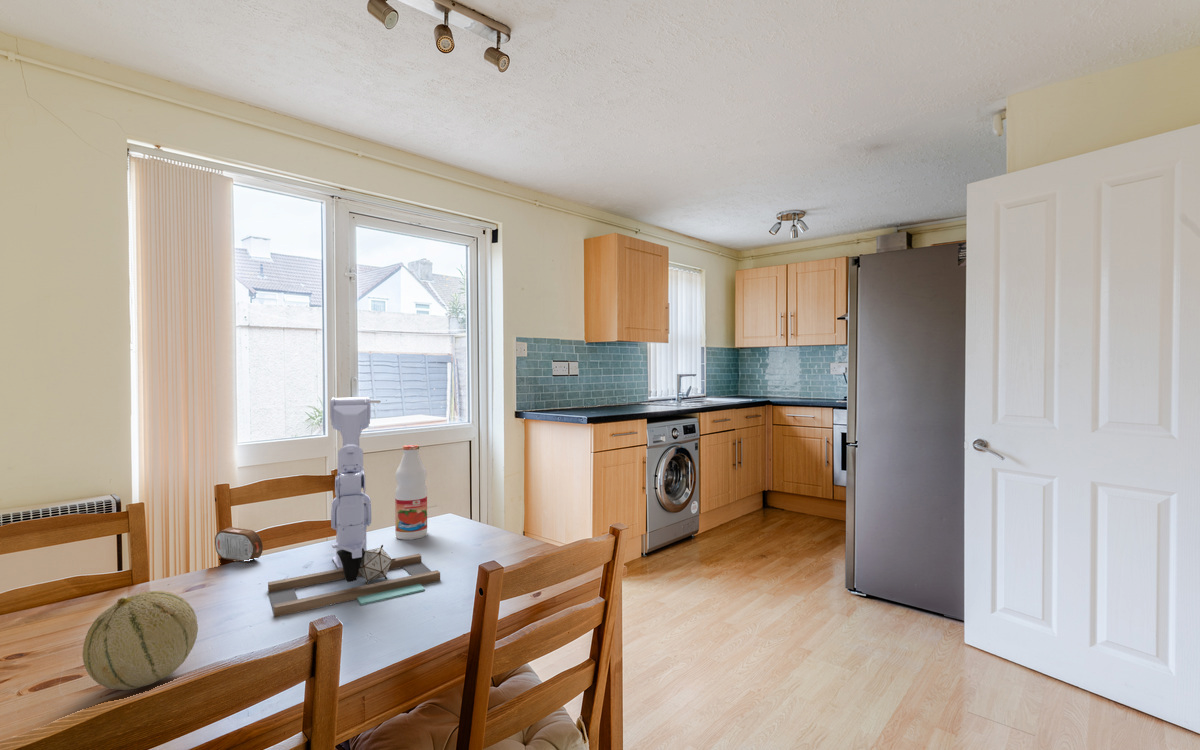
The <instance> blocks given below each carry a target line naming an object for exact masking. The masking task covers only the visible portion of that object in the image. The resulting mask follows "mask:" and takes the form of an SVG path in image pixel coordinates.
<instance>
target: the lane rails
mask: <svg viewBox="0 0 1200 750" xmlns="http://www.w3.org/2000/svg"><path fill="white" fill-rule="evenodd" d="M393 559H396V560H395V561H392V562H391V565H390V567H389V569H388V571H389V570H395V569H399V567H400V568H403V567H402V566H405V565H410V564H415V563H420V562H422V555H421V554H420V553H415V554H411V555H406V556H400V557H394V558H393ZM358 576H362V575H361V573H360V572H359V571H358ZM358 576H357V577H358ZM343 578H345V575H344V570H343V568H341V569H339V568H337V569H332V570H326V571H321V572H314V573H310V574H306V575H300V576H294V577H293V576H292V577H289V578H284V579H278V580H274V581H268V582H267V592H268V593H269V592H274V591H279V590H284V589H289V588H294V590H295V589H299V588H304V587H309V585H310V586H314V585H319V584H324V583H329V581H330V582H334V581H333V580H335V581H340V580H344V579H343ZM339 579H340V580H339ZM440 581H441V572H440V571H439V570H438V569H435V570H431V572H426V573H421V574H416V575H412V576H410V575H408V576H402V577H398V578H393V579H389V580H388V579H387V580H384V581H379V582H374V583H370V584H369V583H368V584H367V585H366V584H364V585H360V586H356V587H354V586H353V587H351V588H346V589H339V590H337V591H331V592H327V593H322V594H318V595H317V594H316V595H313V596H307V597H303V598H299V599H297V600H292V601H288V602H283V603H278V604H274V612H273V615H274V618H277V617H282V616H288V615H290V614H292V615H293V614H296V613H300V612H305V611H309V610H314V609H319V608H322V607H327V606H326V605H328V606H331V605H330V604H332V605H335V604H334V603H337V604H340V603H339V602H342V603H345V601H346V602H350V601H353V600H354V601H355V600H357V597H361V596H365V595H370V594H374V593H379V592H383V591H388V590H393V589H397V588H402V587H406V586H411V585H415V584H421V585H422V586H423V585H426V584H432V583H435V582H436V583H437V582H440Z"/></svg>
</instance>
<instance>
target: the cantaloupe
mask: <svg viewBox="0 0 1200 750" xmlns="http://www.w3.org/2000/svg"><path fill="white" fill-rule="evenodd" d="M198 632H199V625H198V620H197V615H196V613H195V610H194V609H193V607H192V606H191V604H190V603H189V602H188V601H187V600H186V599H184V598H183V597H181V596H179V595H178V594H176V593H173V592H170V591H166V590H165V591H163V590H154V591H153V590H151V591H150V590H148V591H144V592H138V593H137V594H133V595H130V596H128V597H120V598H118V599H117V602H115V603H114V604H113V605H111V606H110V607H108V608H106V610H104V611H103V612H101V614H99V615H98V617H96V618H95V620H94V621H93V622H92V624H91V626H90V627H89V628H88V630H87V633H86V636H85V638H84V641H83V646H82V662H83V665H84V667H85V670H86V672H87V674H88V675H89V677H90V678H91V679H92V680H93V681H94V682H95V683H97V684H98V685H100V686H103V687H105V688H107V689H113V690H121V691H122V690H124V691H129V690H134V689H139V688H142V687H146V686H149V685H152V684H154V683H156V682H159V681H161V680H163V679H165V678H167V677H168V676H170V675H171V674H173V673H174V672H176V671H177V669H178V668H179V667H181V665H182V664H184V662H185V661H186V659H187V658H188V657H189V655H190V654H191V651H192V650H193V648H194V646H195V643H196V640H197V637H198V636H197V635H198Z"/></svg>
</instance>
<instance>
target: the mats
mask: <svg viewBox="0 0 1200 750" xmlns="http://www.w3.org/2000/svg"><path fill="white" fill-rule="evenodd" d="M401 568H403V570H404V571H405V572H406V571H407V572H408V573H409V574H410V575H411V576H412V575H416V574H421V573H426V572H431V571H432V570H431V569H429V567H428V566H426V565H425V564H424V563H423V562H422V561H421V562H420V563H415V564H410V565H405V566H402V567H401ZM407 572H406V573H407ZM409 574H408V575H409ZM410 575H409V576H410ZM268 595H269V599H270V605H271V607H272V612H273V613H274V604H278V603H283V602H288V601H292V600H297V599H298V596H297V593H296V591H295V589H294V588H289V589H284V590H279V591H274V592H268Z"/></svg>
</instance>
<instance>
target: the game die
mask: <svg viewBox="0 0 1200 750" xmlns="http://www.w3.org/2000/svg"><path fill="white" fill-rule="evenodd" d="M383 547H384V544H381V545H380V547H377V548H374V549H369V550H368V549H367V551H365V555H364V557H363V559H362V561H361V563H360V567H359V572H360V573H361V575H360V576H362V577H363V578H364V579H365V580H366V581H365V585H369V582H371V581H375V580H379V579H383V578H384V579H385V580H388V577H387V574H388V572H389V570H388V569H389V567H390V565H391V562H392V561H395V560H396V559H394V558H391V556H390V555H389V554H388V553H387V552H386V551H385V550H384V548H383ZM363 550H364V549H363Z"/></svg>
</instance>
